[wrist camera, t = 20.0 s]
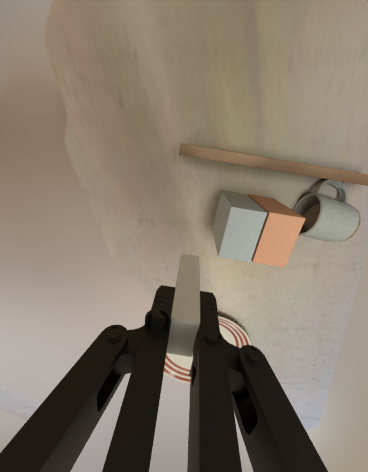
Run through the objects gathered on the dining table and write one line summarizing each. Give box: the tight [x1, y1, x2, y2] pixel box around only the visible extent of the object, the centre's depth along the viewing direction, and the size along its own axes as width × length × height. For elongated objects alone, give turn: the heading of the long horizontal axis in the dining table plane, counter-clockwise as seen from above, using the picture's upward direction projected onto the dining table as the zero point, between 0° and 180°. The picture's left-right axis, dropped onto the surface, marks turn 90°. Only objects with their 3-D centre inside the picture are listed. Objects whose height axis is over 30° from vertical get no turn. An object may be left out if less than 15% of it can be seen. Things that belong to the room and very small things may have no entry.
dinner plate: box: [164, 316, 251, 384], centre depth 54 cm, size 27×27×3 cm
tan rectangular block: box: [248, 194, 306, 267], centre depth 34 cm, size 8×5×12 cm, turn 171°
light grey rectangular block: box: [212, 190, 267, 262], centre depth 34 cm, size 8×5×12 cm, turn 171°
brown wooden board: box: [179, 144, 368, 186], centre depth 31 cm, size 1×32×9 cm, turn 81°
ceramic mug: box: [293, 179, 360, 242], centre depth 34 cm, size 11×8×8 cm
